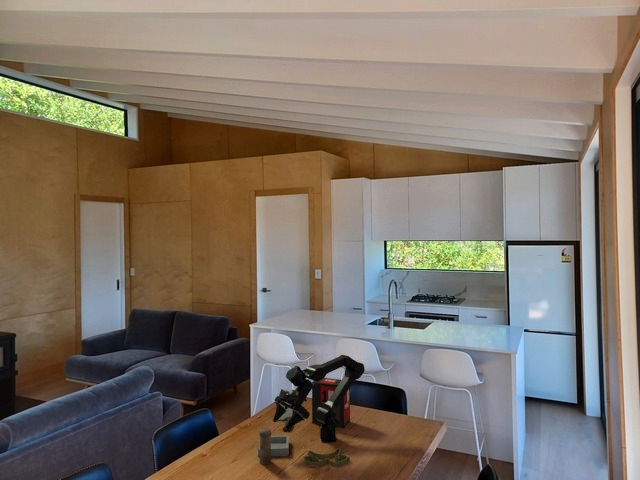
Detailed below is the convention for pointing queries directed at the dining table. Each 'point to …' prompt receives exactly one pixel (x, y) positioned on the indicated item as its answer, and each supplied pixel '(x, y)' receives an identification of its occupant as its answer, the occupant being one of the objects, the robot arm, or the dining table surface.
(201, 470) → the dining table surface
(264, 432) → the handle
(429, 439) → the dining table surface
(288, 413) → the cleaver
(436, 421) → the dining table surface
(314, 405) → the cleaning product box
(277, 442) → the box
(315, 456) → the cookie cutter
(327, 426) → the robot arm
